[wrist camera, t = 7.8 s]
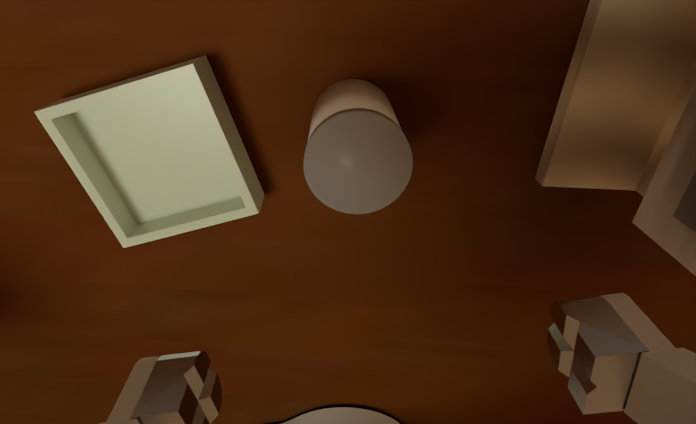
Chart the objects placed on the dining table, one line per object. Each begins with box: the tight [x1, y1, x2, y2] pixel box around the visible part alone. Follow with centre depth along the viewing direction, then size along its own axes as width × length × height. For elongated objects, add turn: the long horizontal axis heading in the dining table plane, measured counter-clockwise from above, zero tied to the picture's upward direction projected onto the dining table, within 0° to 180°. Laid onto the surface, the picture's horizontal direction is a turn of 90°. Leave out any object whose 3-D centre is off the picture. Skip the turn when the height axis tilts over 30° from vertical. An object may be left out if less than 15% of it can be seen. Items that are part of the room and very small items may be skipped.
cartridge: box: [304, 79, 413, 214], centre depth 23 cm, size 5×5×7 cm
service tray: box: [34, 55, 265, 248], centre depth 25 cm, size 9×9×2 cm
